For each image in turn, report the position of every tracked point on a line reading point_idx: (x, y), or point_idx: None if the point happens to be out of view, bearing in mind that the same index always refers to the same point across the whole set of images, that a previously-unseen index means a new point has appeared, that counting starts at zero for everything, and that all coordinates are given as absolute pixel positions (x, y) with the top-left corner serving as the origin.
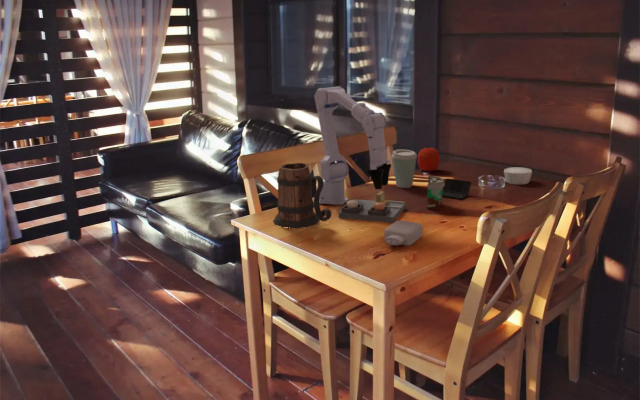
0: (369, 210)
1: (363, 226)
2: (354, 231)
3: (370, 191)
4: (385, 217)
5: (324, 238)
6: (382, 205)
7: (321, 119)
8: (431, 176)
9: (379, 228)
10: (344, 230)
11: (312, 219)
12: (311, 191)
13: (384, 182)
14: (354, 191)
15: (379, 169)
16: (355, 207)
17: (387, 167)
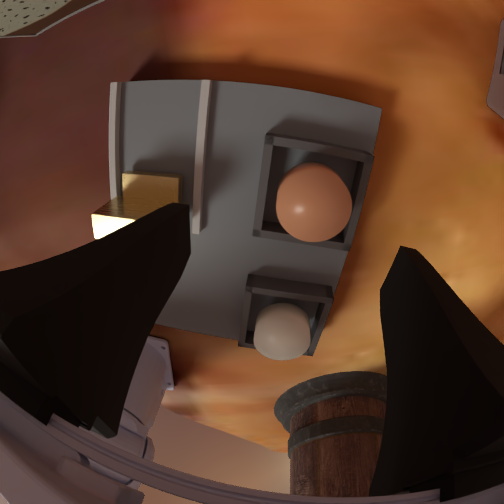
0: (345, 245)
1: (419, 237)
2: (462, 261)
3: (14, 265)
4: (371, 149)
5: (487, 325)
6: (343, 183)
7: None
8: None
9: (445, 170)
10: None
11: (375, 390)
12: (353, 469)
13: (179, 243)
14: None
15: (492, 449)
16: (303, 312)
17: (54, 337)
